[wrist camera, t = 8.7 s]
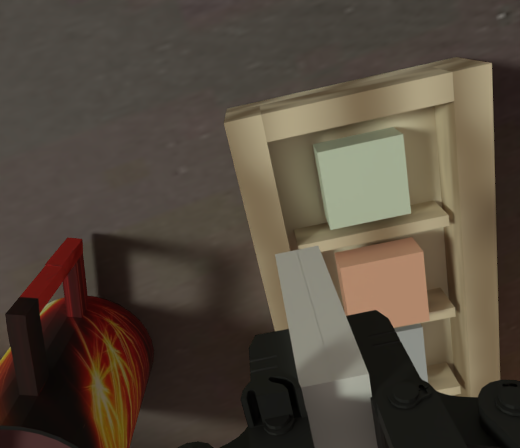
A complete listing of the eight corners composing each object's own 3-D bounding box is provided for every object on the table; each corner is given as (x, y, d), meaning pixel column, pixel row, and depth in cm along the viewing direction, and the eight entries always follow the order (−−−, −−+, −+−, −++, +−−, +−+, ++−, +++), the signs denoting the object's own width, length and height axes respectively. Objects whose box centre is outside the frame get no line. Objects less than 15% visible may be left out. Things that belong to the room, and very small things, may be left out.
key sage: (325, 217, 30) (330, 230, 29) (312, 144, 29) (317, 152, 27) (401, 201, 30) (411, 213, 28) (392, 126, 28) (403, 133, 26)
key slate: (353, 377, 35) (359, 396, 34) (344, 323, 34) (349, 341, 32) (418, 364, 35) (428, 383, 33) (412, 310, 33) (422, 327, 31)
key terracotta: (345, 317, 31) (351, 335, 30) (334, 252, 30) (340, 268, 28) (418, 303, 31) (429, 320, 29) (412, 236, 29) (423, 251, 27)
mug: (84, 225, 32) (-1, 332, 21) (175, 377, 37) (146, 526, 26) (-38, 275, 33) (-179, 401, 22) (66, 415, 39) (-6, 574, 27)
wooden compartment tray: (311, 458, 41) (318, 507, 37) (227, 108, 29) (223, 122, 25) (476, 428, 40) (502, 475, 36) (456, 57, 29) (491, 63, 24)
